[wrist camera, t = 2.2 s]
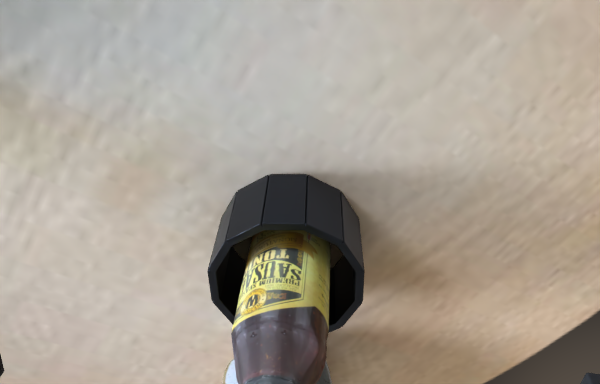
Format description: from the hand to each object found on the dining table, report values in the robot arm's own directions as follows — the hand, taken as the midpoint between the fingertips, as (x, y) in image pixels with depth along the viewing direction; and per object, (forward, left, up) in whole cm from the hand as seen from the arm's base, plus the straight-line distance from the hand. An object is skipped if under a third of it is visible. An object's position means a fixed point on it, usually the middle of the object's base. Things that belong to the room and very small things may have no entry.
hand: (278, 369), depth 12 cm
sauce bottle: (-10, -14, -28) cm, 33 cm away
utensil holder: (-10, -14, -28) cm, 33 cm away
